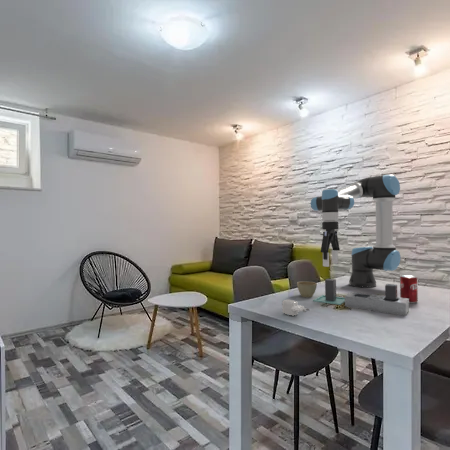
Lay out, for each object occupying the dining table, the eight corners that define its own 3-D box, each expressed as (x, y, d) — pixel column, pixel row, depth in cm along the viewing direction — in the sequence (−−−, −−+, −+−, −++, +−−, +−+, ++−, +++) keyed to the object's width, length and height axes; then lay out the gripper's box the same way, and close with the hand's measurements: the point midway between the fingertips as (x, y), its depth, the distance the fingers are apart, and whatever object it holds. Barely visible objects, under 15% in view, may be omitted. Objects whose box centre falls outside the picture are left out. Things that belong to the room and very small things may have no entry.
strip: (356, 298, 159) (356, 276, 159) (411, 305, 145) (411, 281, 145) (345, 307, 143) (344, 282, 143) (405, 315, 129) (405, 288, 129)
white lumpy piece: (310, 317, 128) (310, 303, 128) (304, 320, 125) (303, 305, 125) (287, 312, 136) (287, 298, 136) (281, 314, 133) (280, 300, 133)
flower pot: (309, 300, 157) (309, 285, 157) (293, 296, 165) (292, 283, 165) (320, 296, 164) (320, 283, 164) (304, 293, 171) (304, 280, 171)
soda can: (398, 301, 151) (398, 276, 151) (402, 299, 157) (402, 274, 157) (415, 304, 146) (415, 278, 146) (419, 301, 152) (419, 276, 152)
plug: (328, 298, 158) (327, 278, 157) (336, 299, 155) (336, 279, 155) (325, 300, 154) (325, 279, 154) (333, 301, 152) (333, 280, 152)
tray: (322, 296, 164) (322, 294, 164) (348, 300, 156) (348, 298, 156) (313, 301, 153) (312, 300, 153) (340, 305, 146) (340, 303, 146)
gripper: (330, 221, 167) (331, 261, 167) (313, 221, 147) (313, 267, 147) (345, 221, 162) (346, 262, 162) (329, 221, 142) (330, 268, 142)
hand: (330, 264), depth 154 cm, fingers open, 13 cm apart
